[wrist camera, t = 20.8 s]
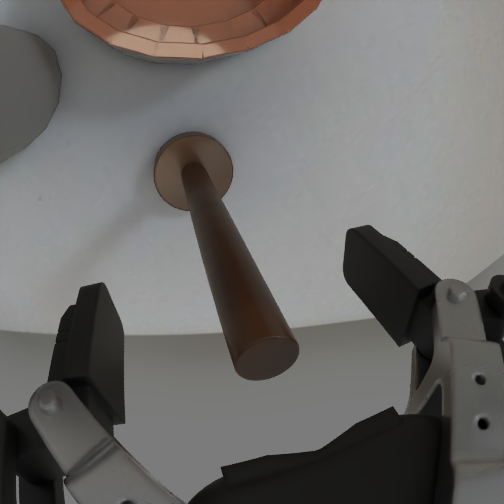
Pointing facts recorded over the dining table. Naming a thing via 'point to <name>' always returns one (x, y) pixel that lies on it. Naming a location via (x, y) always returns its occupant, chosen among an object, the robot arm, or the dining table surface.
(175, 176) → the upright rod on disc
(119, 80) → the dining table surface
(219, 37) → the bowl
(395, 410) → the robot arm
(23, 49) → the cup
